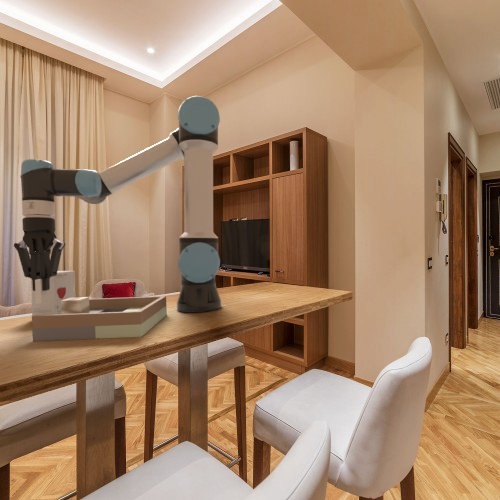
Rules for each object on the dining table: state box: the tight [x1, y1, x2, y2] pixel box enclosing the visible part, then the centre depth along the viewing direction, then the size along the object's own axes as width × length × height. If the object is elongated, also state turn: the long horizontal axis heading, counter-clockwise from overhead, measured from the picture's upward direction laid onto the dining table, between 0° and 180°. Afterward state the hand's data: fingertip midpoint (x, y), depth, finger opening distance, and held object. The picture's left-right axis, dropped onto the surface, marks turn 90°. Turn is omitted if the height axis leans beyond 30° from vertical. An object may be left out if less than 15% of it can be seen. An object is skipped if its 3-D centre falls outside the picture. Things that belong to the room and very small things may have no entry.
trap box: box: [31, 295, 168, 342], centre depth 87 cm, size 26×24×6 cm
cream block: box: [61, 296, 90, 314], centre depth 87 cm, size 5×5×5 cm
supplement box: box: [30, 270, 77, 317], centre depth 102 cm, size 9×9×15 cm
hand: (41, 302), depth 87 cm, fingers closed
